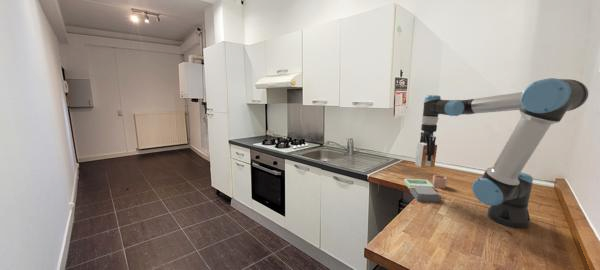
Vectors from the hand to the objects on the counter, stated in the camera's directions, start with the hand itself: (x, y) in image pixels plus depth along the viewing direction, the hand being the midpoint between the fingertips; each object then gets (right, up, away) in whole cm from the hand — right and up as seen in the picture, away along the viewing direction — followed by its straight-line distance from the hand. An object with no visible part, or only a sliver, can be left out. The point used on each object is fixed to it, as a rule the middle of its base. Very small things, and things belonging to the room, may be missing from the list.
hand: (424, 163), depth 139 cm
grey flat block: (-1, -18, -2) cm, 18 cm away
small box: (0, -1, 0) cm, 1 cm away
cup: (+16, -15, +14) cm, 26 cm away
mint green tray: (+3, -15, +13) cm, 20 cm away
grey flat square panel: (-1, -15, -2) cm, 15 cm away
